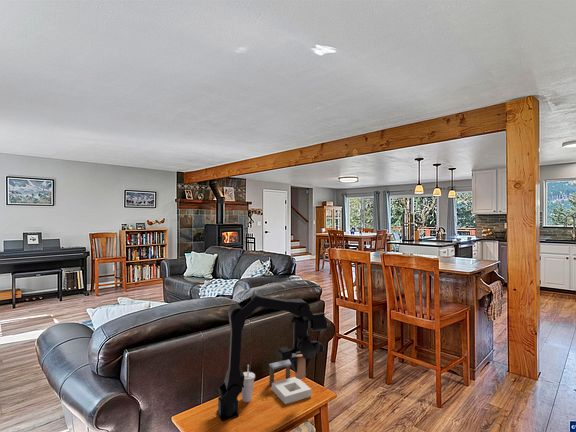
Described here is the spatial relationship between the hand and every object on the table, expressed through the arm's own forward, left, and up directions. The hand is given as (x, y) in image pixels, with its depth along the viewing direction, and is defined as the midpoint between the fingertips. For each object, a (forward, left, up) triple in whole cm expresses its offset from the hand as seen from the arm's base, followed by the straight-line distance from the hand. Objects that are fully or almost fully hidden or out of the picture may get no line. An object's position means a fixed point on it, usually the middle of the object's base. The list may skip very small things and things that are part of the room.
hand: (300, 371), depth 131 cm
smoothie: (-18, +11, -12) cm, 24 cm away
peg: (0, 0, -2) cm, 2 cm away
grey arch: (0, +16, -12) cm, 20 cm away
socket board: (0, +6, -12) cm, 14 cm away
